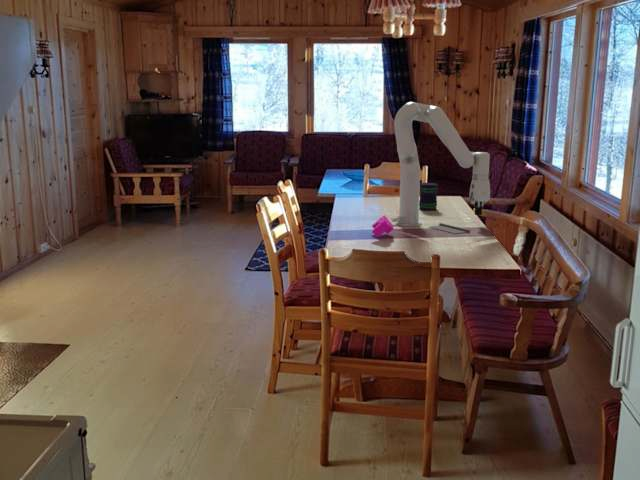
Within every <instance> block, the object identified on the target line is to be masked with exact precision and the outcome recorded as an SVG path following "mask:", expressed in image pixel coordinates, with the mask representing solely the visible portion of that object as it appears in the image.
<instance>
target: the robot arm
mask: <svg viewBox="0 0 640 480" xmlns="http://www.w3.org/2000/svg"><path fill="white" fill-rule="evenodd" d="M413 121H417V122H423V123H428V124H429V125H430V126H431V128H432V129H433V131H434V132H435V134H436V135H437V136H438V138H439V139H440V141H441V142H442V143H443V145H445V147H446V148H447V149H448V151H449V152H450V153H451V154H452V156H453V157H454V159H455V160H456V161H457V163H458V165H459V167H462V168H463V169H469V168H471V167H472V176H471V178H472V179H471V183H470V187H469V196H468V197H469V201H470V204H471V205H473V206H474V215H475V216H482V214H483V208H484V206H485V204H486V203H487V202H488V201H490V199H491V184H490V183H491V182H490V180H489V173H490V158H491V157H490V156H491V155H490V153H489V152H486V151H475V152H474V151H470V149H469V148H468V146H467V144H466V143H465V142H464V141H463V139H462V138H461V135H460V134H459V132H458V131H457V129H456V127H455V126H454V124H452V122H451V121H450V119H449V117H448V116H447V115H446V113H445V112H444V111H443V108H441V107H439V106H437V105H429V104H424V103H419V102H415V101H409V102H406V103H405V104H404V105H402V107H400V108H399V110H397V112H396V115H395V117H394V122H393V123H394V124H393V125H394V127H393V128H394V134H395V141H396V151H397V154H398V159H399V164H400V174H399V175H400V177H399V179H400V181H399V182H400V183H399V210H398V212H399V214H398V215H397V217H392V218H390V219H391V223H395V224H396V225H397V226H398V225H399V226H403V227H416V226H421V225H422V222H421V221H420V220H419V212H420V211H419V210H420V209H419V200H420V183H421V166H420V160H419V155H418V148H417V145H416V142H415V139H414V138H415V137H414V131H413Z"/></svg>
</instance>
